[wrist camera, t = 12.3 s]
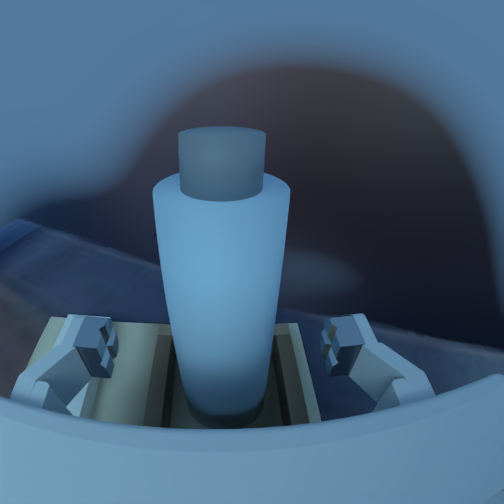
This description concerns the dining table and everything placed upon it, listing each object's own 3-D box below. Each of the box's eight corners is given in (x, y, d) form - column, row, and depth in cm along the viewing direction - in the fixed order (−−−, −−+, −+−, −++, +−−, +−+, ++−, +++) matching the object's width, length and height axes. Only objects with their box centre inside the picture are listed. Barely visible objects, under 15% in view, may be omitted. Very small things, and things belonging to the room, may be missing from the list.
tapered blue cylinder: (185, 430, 16) (130, 150, 8) (189, 368, 20) (164, 124, 12) (267, 429, 16) (312, 150, 8) (260, 368, 21) (282, 125, 12)
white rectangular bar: (30, 450, 12) (18, 441, 11) (74, 326, 22) (68, 314, 21) (80, 465, 12) (70, 457, 12) (115, 330, 23) (110, 317, 22)
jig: (5, 456, 12) (-24, 432, 10) (55, 325, 23) (41, 295, 21) (330, 490, 14) (349, 475, 12) (295, 332, 25) (301, 300, 23)
